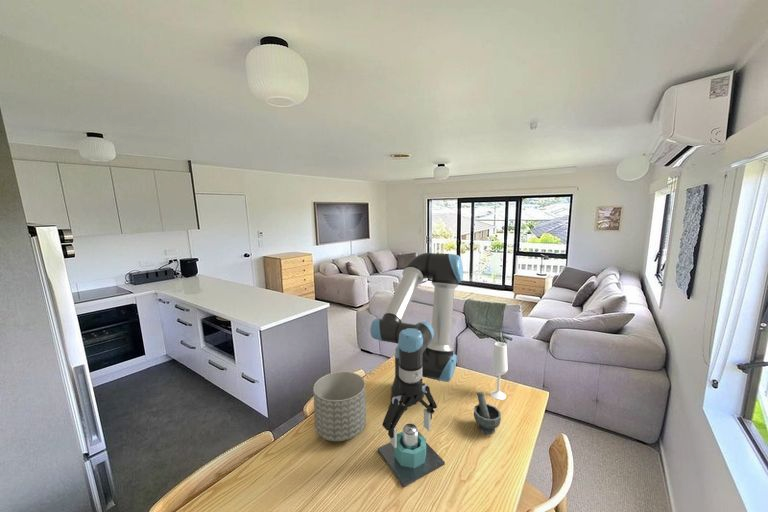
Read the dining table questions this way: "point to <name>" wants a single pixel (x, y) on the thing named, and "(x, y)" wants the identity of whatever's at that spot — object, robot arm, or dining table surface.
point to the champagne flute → (499, 367)
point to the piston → (410, 442)
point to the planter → (339, 406)
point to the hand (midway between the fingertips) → (410, 436)
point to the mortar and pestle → (486, 415)
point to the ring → (410, 452)
